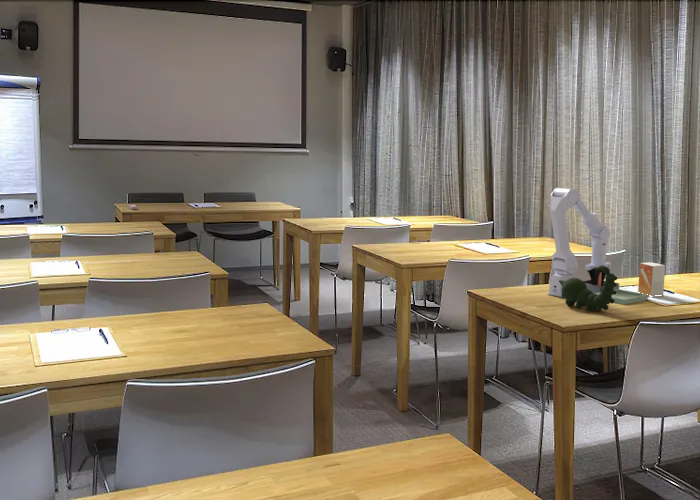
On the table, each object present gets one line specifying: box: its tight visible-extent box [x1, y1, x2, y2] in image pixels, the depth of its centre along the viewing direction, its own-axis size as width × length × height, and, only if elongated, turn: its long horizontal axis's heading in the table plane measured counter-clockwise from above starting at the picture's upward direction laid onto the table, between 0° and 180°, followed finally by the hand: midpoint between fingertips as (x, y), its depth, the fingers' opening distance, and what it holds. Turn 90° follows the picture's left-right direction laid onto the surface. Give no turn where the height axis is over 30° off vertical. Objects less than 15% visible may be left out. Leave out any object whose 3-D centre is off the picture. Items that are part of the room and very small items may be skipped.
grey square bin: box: [582, 278, 620, 294], centre depth 309 cm, size 13×13×4 cm
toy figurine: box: [559, 266, 618, 312], centre depth 275 cm, size 9×19×25 cm
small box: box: [637, 261, 666, 296], centre depth 300 cm, size 8×6×13 cm
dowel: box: [597, 272, 602, 286], centre depth 309 cm, size 3×3×8 cm
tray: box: [595, 288, 650, 306], centre depth 293 cm, size 16×14×2 cm
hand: (597, 285), depth 309 cm, fingers closed on dowel, 3 cm apart
